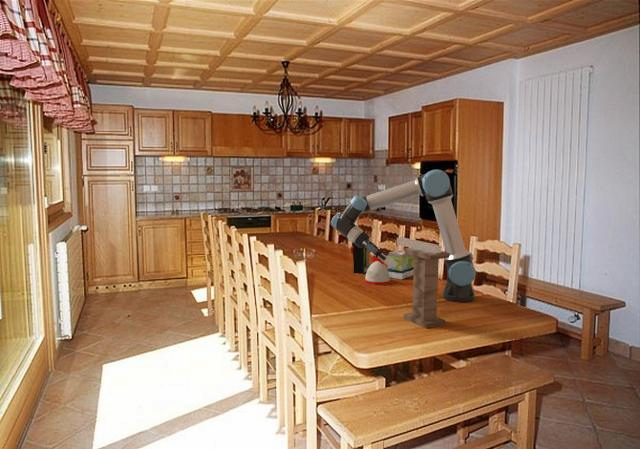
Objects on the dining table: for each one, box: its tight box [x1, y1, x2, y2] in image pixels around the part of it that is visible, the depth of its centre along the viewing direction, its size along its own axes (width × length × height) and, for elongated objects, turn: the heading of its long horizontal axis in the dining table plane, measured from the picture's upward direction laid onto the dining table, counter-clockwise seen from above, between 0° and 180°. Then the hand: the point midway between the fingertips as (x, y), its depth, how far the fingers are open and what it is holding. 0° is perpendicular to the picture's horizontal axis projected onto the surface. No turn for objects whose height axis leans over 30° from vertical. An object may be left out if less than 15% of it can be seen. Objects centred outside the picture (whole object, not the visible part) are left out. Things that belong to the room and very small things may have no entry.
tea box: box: [387, 249, 414, 280], centre depth 283 cm, size 15×10×15 cm
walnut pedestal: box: [403, 247, 450, 329], centre depth 200 cm, size 16×10×30 cm, turn 28°
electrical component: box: [350, 238, 372, 275], centre depth 298 cm, size 18×10×20 cm, turn 168°
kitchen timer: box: [364, 254, 391, 286], centre depth 269 cm, size 14×14×15 cm
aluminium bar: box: [396, 236, 442, 254], centre depth 203 cm, size 25×3×3 cm, turn 28°
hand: (394, 264), depth 223 cm, fingers open, 13 cm apart
